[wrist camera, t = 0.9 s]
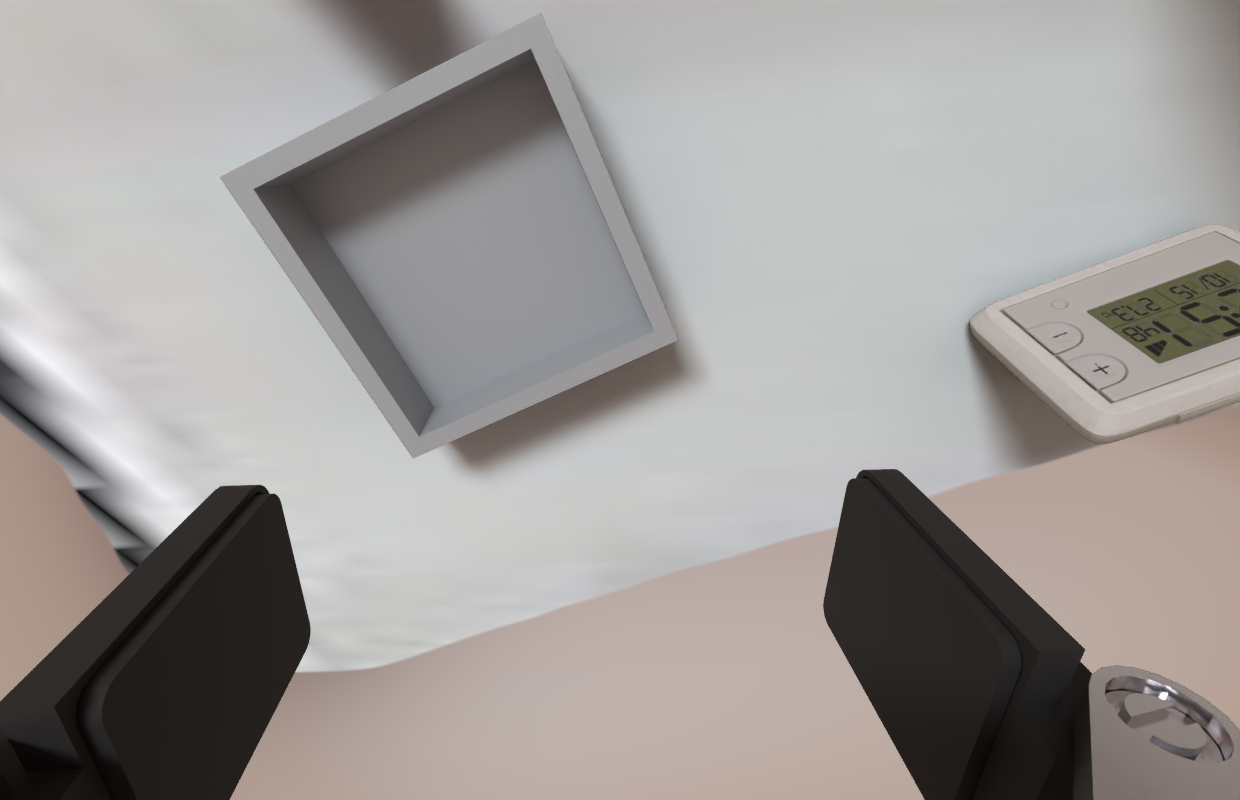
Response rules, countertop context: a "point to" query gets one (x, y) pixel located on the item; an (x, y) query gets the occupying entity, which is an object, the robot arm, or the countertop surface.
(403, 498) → the countertop surface
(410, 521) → the countertop surface
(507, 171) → the bin
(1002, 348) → the digital clock
